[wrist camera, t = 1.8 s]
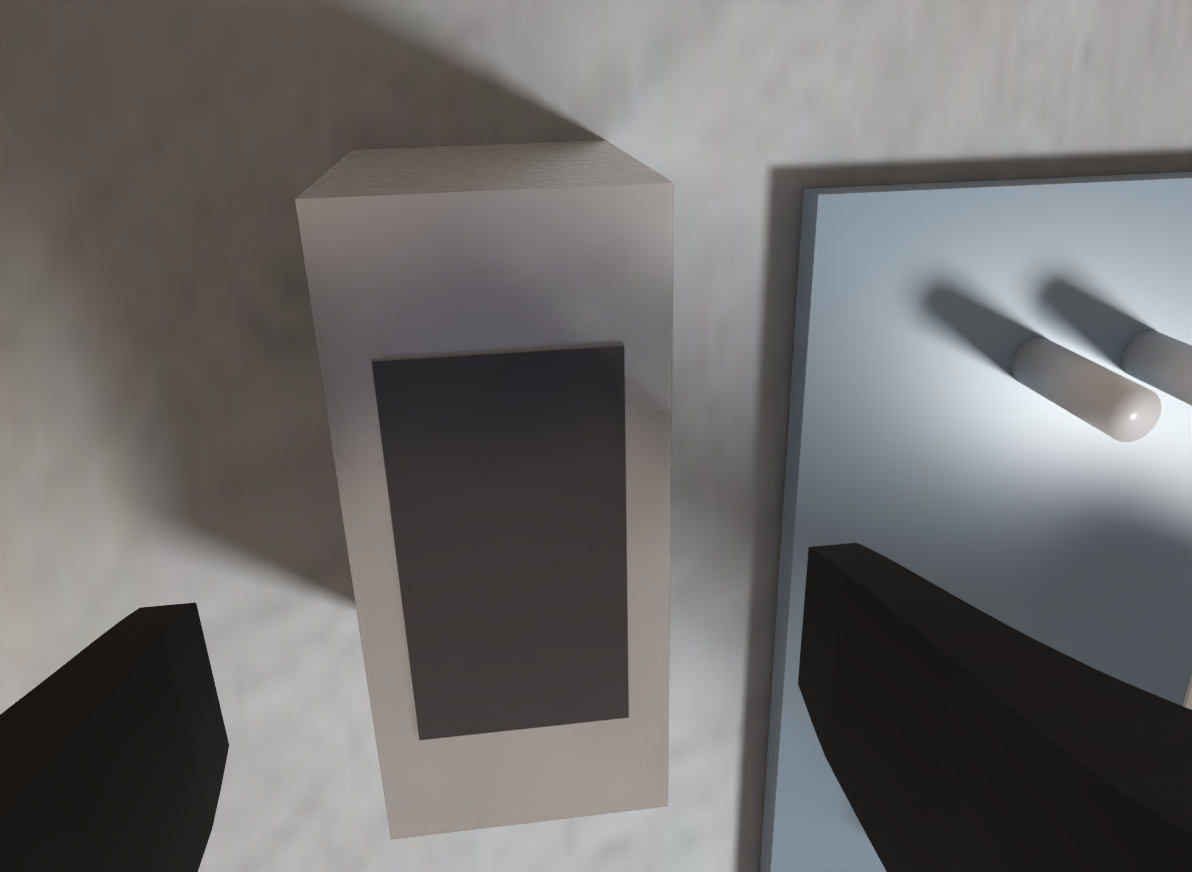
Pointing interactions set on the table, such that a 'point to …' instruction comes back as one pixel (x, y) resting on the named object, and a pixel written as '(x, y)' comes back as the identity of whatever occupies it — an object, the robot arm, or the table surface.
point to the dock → (989, 435)
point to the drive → (503, 469)
